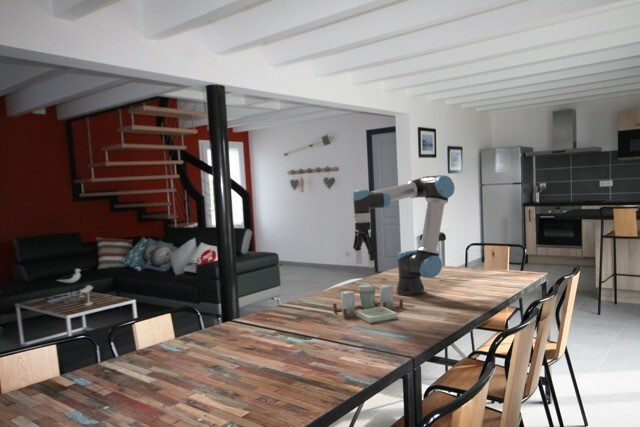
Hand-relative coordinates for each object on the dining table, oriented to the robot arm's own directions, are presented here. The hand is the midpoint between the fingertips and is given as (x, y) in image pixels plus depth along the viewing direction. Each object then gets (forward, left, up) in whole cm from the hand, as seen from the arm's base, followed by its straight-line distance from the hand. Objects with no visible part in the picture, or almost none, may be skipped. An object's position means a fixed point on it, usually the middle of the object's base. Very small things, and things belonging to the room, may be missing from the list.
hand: (365, 265), depth 232 cm
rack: (0, 0, -22) cm, 22 cm away
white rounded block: (-11, 0, -22) cm, 24 cm away
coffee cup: (0, 0, -22) cm, 22 cm away
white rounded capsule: (+10, 0, -22) cm, 24 cm away
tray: (+3, +14, -22) cm, 26 cm away
